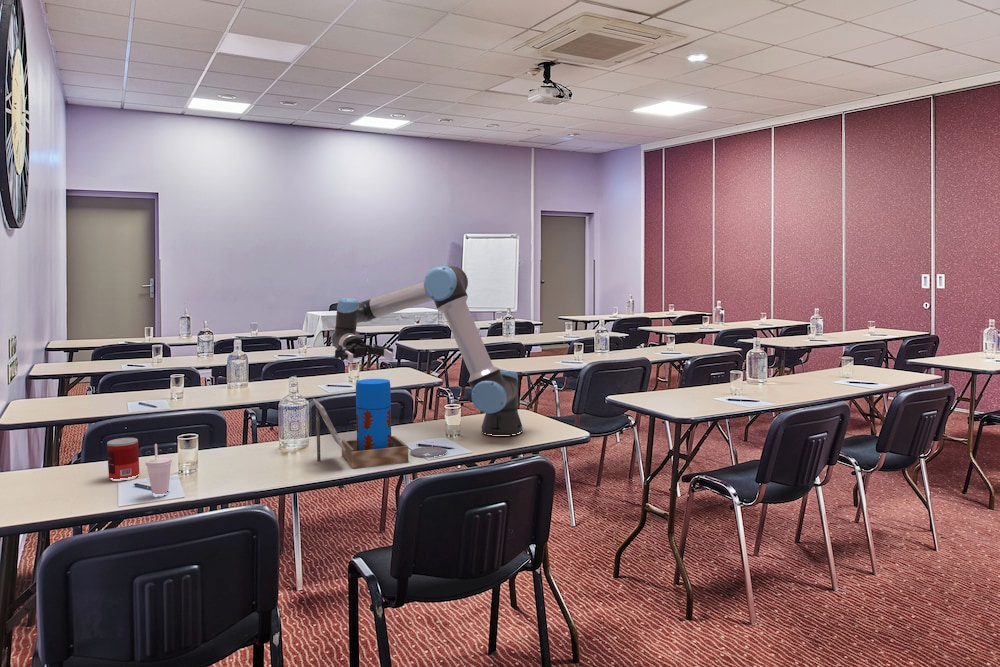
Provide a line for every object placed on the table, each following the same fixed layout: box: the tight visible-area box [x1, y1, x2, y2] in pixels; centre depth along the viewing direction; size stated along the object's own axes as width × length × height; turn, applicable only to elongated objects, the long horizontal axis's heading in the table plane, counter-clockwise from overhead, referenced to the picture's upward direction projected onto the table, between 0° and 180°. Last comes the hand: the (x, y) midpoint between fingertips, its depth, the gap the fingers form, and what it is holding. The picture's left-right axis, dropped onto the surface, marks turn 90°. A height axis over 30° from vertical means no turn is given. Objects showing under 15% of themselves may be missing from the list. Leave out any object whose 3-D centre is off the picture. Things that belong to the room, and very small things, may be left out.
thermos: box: [355, 378, 392, 451], centre depth 223 cm, size 11×11×25 cm
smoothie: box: [145, 443, 173, 494], centre depth 188 cm, size 6×6×14 cm
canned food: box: [106, 437, 140, 479], centre depth 204 cm, size 8×8×11 cm
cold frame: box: [312, 398, 409, 470], centre depth 222 cm, size 26×16×20 cm, turn 114°
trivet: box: [409, 446, 448, 459], centre depth 232 cm, size 12×12×1 cm
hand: (372, 357), depth 232 cm, fingers open, 13 cm apart
